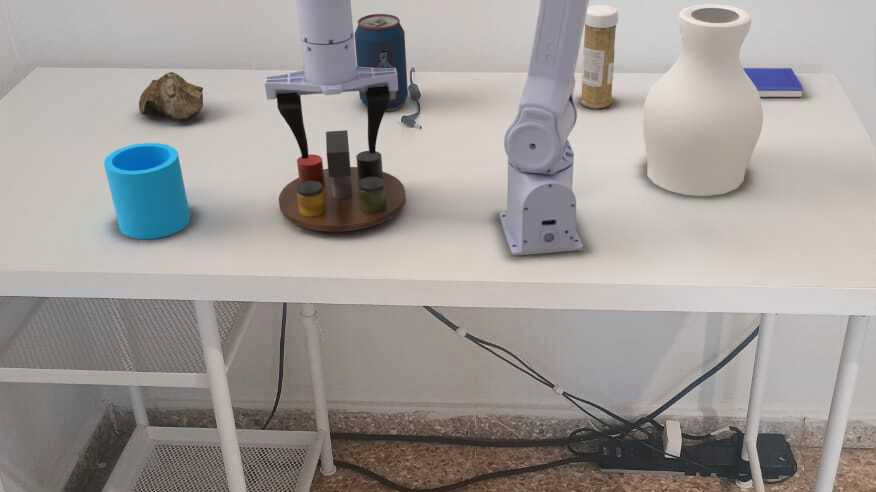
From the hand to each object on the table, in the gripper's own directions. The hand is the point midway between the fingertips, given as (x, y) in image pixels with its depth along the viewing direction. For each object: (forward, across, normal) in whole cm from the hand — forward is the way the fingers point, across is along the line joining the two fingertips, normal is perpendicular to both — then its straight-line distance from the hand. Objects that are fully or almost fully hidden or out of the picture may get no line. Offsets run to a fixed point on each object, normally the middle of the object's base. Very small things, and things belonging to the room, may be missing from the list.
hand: (338, 152), depth 120 cm
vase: (+8, +44, +2) cm, 45 cm away
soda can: (+7, +7, +31) cm, 33 cm away
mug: (+7, -22, +2) cm, 23 cm away
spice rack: (+7, 0, 0) cm, 7 cm away
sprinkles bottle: (+8, +37, +26) cm, 46 cm away
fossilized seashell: (+7, -23, +32) cm, 40 cm away
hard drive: (+8, +61, +28) cm, 67 cm away
